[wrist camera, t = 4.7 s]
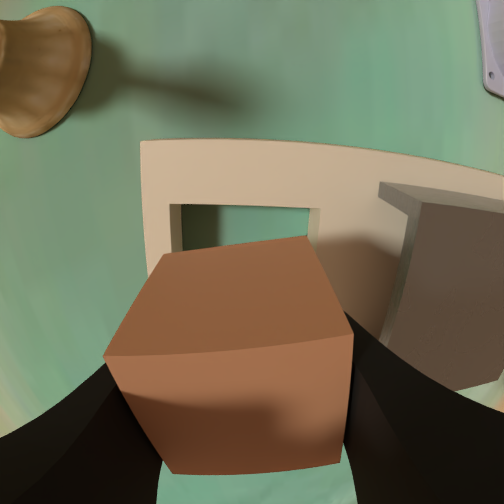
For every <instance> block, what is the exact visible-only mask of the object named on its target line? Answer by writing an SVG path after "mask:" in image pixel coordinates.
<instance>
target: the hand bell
mask: <svg viewBox="0 0 504 504" xmlns="http://www.w3.org/2000/svg"><path fill="white" fill-rule="evenodd" d="M90 60H91V36H90V32H89V28H88V26H87V23H86V22H85V20H84V19H83V17H82V16H81V15H80V14H79V13H78V12H76V11H75V10H73V9H71V8H68V7H64V6H52V7H47V8H43V9H40V10H38V11H35V12H33V13H32V14H30V15H28V16H26V17H25V18H23V19H22V20H18V21H7V20H0V128H1V129H2V130H4V131H5V132H6V133H8V134H10V135H12V136H14V137H18V138H30V137H35V136H38V135H40V134H42V133H44V132H46V131H48V130H49V129H50V128H52V127H53V126H54V125H55V124H56V123H58V122H59V121H60V120H61V119H62V118H63V117H64V116H65V115H66V113H67V112H68V111H69V109H70V108H71V107H72V105H73V104H74V102H75V101H76V99H77V97H78V95H79V93H80V91H81V89H82V87H83V84H84V82H85V79H86V76H87V73H88V70H89V66H90Z"/></svg>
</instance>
